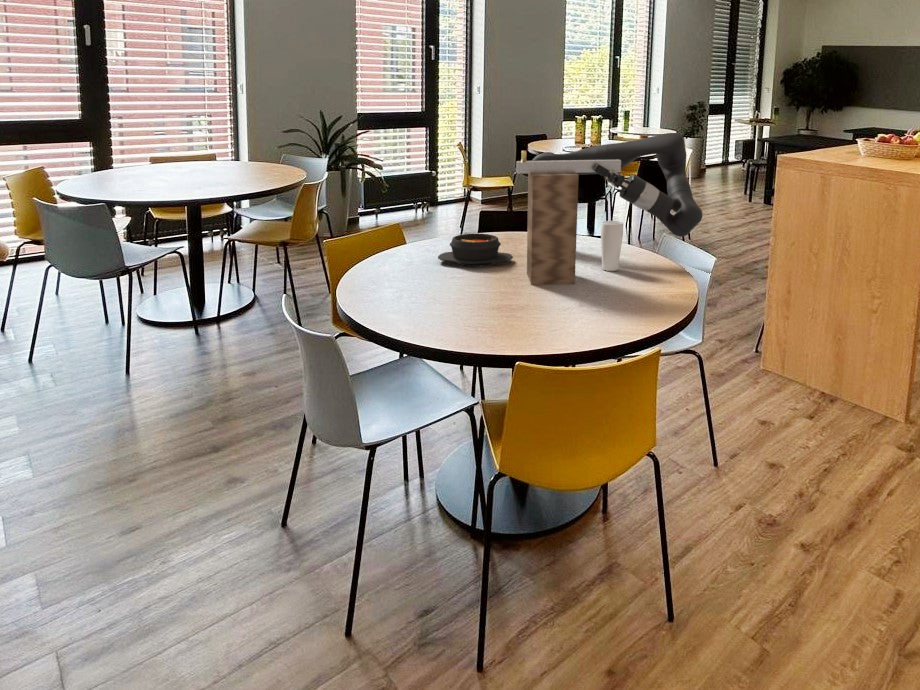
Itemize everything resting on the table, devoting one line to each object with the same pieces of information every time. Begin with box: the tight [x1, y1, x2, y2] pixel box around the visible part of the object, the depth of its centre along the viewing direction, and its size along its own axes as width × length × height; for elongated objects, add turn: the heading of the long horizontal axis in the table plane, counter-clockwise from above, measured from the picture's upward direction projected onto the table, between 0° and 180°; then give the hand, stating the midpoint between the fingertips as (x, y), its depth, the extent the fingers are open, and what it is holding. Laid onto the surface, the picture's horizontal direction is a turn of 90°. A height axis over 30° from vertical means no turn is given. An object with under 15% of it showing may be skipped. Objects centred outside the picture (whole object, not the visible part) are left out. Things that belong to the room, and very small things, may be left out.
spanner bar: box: [515, 150, 622, 175], centre depth 231 cm, size 30×3×6 cm, turn 91°
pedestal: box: [526, 173, 580, 286], centre depth 237 cm, size 13×13×32 cm
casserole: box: [437, 232, 514, 267], centre depth 263 cm, size 25×19×8 cm
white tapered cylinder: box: [600, 220, 624, 272], centre depth 250 cm, size 7×7×15 cm
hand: (593, 165), depth 231 cm, fingers open, 8 cm apart
